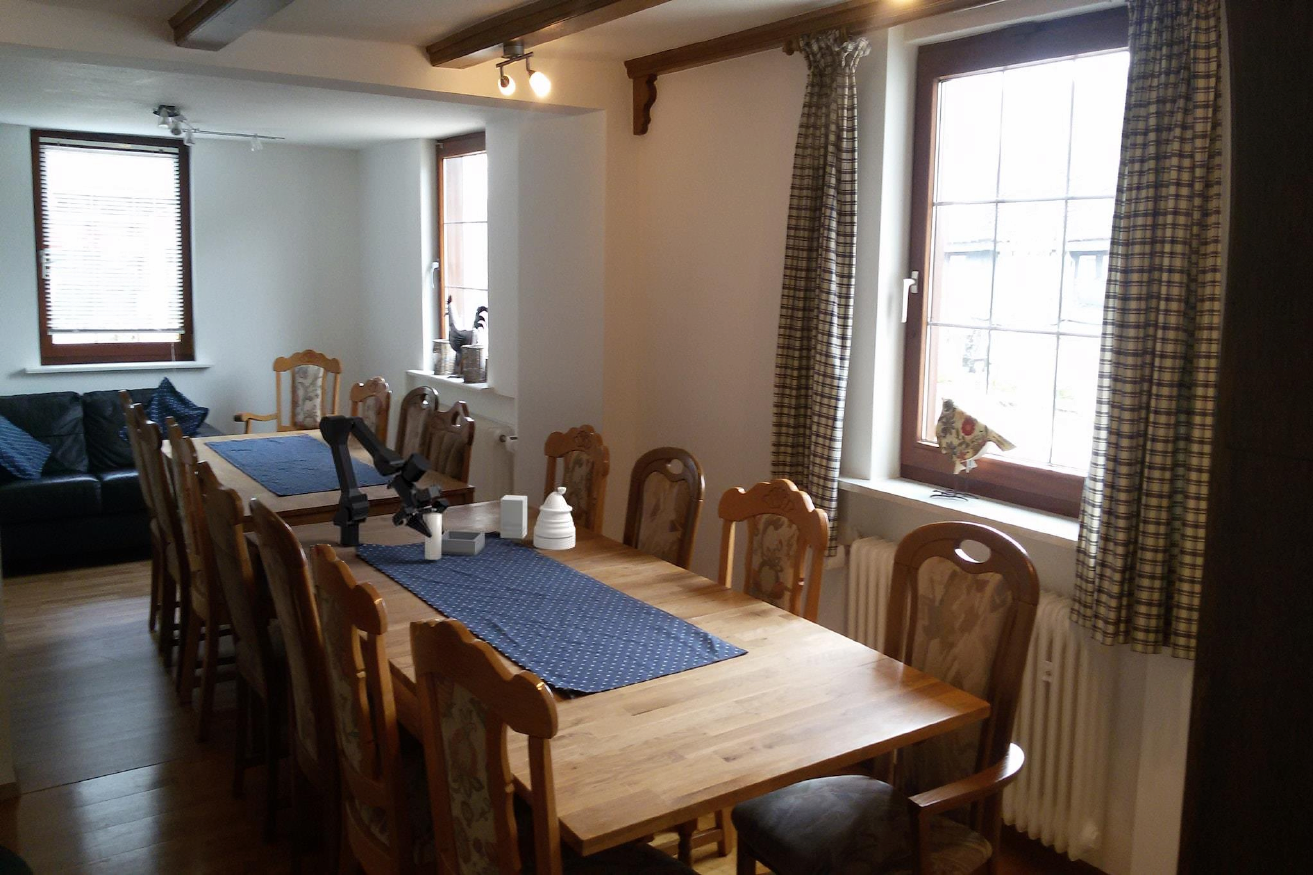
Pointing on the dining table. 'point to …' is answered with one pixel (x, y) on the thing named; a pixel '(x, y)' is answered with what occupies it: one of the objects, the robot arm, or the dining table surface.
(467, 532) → the grey crate
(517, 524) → the supplement box
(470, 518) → the dining table surface
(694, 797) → the dining table surface
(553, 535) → the honey pot
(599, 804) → the dining table surface
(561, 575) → the dining table surface
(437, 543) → the ceramic pillar
